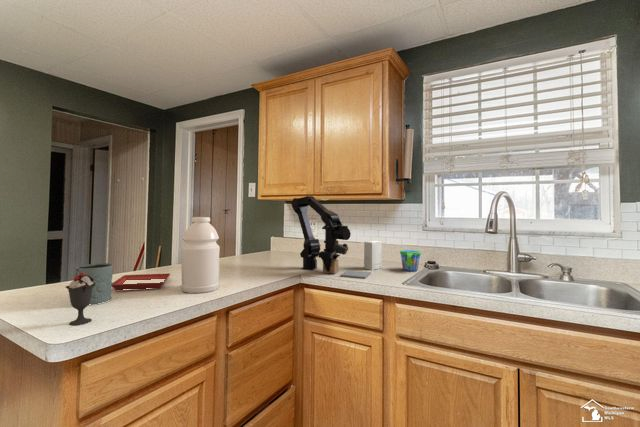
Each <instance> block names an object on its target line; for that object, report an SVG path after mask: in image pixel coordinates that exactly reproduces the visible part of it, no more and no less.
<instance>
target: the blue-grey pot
mask: <svg viewBox="0 0 640 427" xmlns="http://www.w3.org/2000/svg"><path fill="white" fill-rule="evenodd" d="M76 269H78V271H79V272H80V273H79V272H78V271H77V270H76ZM113 271H114V264H113V263H108V262H107V263H102V262H101V263H91V264H84V265H79V266H75V273H76V272H77V276H79V275H80V274H81V273H84V274H85V275H87V276H90V277H92V278H93V279H94V280H93V283H96V284H95V286H94V287H93V288H92V294H91V300H90V303H89V304H97V305H99V304H98V303H102V302H106V301H108V300H110V299H111V300H112V291H113V290H112V283H113V282H112V280H113ZM111 300H110V301H111ZM106 303H107V302H106ZM102 304H103V303H102Z"/></svg>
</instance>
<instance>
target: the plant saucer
mask: <svg viewBox="0 0 640 427" xmlns="http://www.w3.org/2000/svg"><path fill="white" fill-rule="evenodd" d="M170 276H171V273H148V274H146V273H144V274H124V275H122V276H121V277H119V278H117V280H115V281H113V282H112V286H111V288H113V289H114V290H115V291H117V290H123V289H146V288H160V289H161V288H162V287H163V285H164V284H165V282H166V281H167V280H168V279H169V277H170ZM151 279H165V280H164V282H160V283H137V284H123V283H124V282H125V281H126V280H151ZM146 290H147V289H146Z"/></svg>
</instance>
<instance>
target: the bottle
mask: <svg viewBox="0 0 640 427" xmlns="http://www.w3.org/2000/svg"><path fill="white" fill-rule="evenodd" d="M191 222H192V224H190V225H189V226H188V228H187V229H186V230H185V231H184V234H183V236H182V240H183V241H184V242H185V243H184V245H183V246H181V285H180V288H181V291H183V293H187V292H188V294H203V293H208V292H214V291H216V290H218V289H219V288H220V253H221V252H220V251H221V250H220V248H221V247H220V245H219V244H218V242H217V241H218V240H219V239H220V237H219V234H218V232H217V230H216V228H215V227H214V226H213V225H212V224H211V217H209V216H193V217H192V218H191Z"/></svg>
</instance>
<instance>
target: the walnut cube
mask: <svg viewBox="0 0 640 427" xmlns="http://www.w3.org/2000/svg"><path fill="white" fill-rule="evenodd" d="M338 272H339V259H332V260H331V266H330V271H327V269H326V267H325V265H324V263H323V262H322V273H323V274H333V275H335V274H337V273H338Z"/></svg>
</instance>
